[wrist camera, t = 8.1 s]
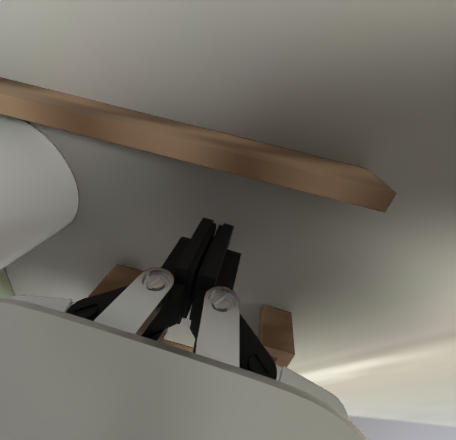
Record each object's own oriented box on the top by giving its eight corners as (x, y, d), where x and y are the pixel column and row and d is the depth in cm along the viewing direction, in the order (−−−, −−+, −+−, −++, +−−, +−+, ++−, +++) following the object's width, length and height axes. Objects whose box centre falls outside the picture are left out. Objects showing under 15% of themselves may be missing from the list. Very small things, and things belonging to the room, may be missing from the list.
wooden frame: (367, 169, 11) (397, 194, 8) (259, 372, 21) (257, 413, 18) (-95, 53, 12) (-198, 43, 9) (7, 299, 22) (-30, 329, 19)
